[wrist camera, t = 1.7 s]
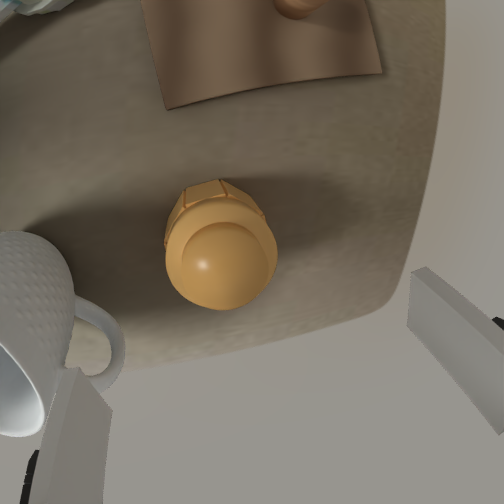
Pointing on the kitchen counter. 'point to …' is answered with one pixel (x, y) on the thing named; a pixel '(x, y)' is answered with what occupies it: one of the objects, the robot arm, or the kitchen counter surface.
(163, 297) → the kitchen counter surface
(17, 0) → the electric scrub brush
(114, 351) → the mug
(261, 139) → the kitchen counter surface
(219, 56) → the post board
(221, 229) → the acorn cap nut
